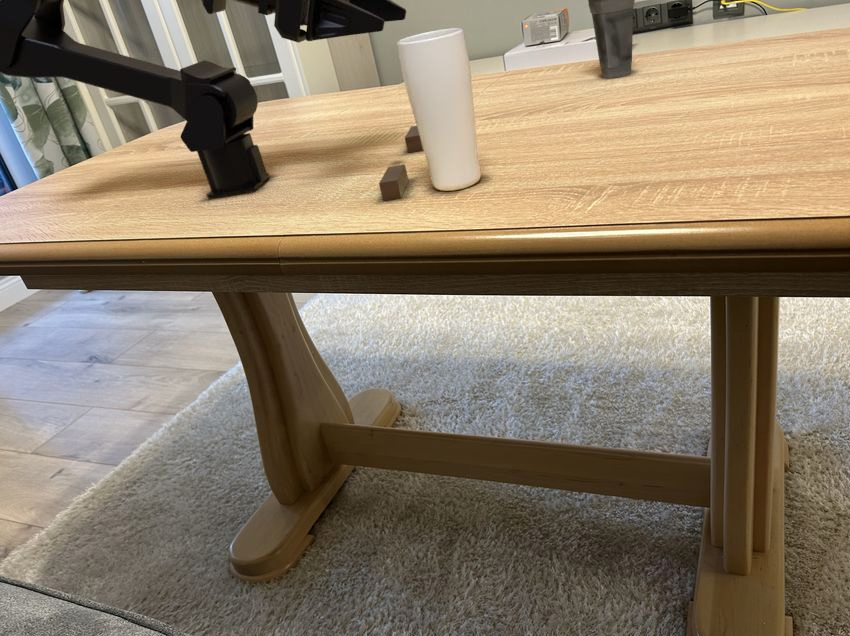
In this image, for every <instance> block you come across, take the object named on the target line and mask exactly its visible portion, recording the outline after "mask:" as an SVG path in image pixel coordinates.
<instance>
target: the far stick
mask: <svg viewBox="0 0 850 636" xmlns="http://www.w3.org/2000/svg"><path fill="white" fill-rule="evenodd" d="M404 141H405V146H406V151H407V153H408V154H409V153H415V152H422V151H424V149H423V145H422V142H421V138H420V135H419V132H418V128H417V125H412V126H410V128H409V129H408V131H407V133H406V134H405V136H404Z"/></svg>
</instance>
